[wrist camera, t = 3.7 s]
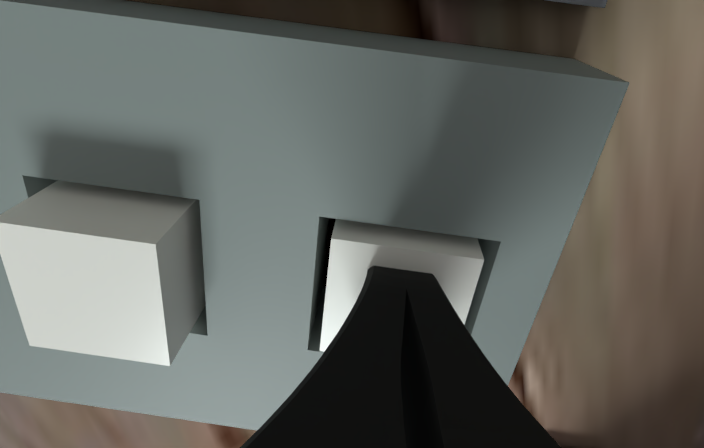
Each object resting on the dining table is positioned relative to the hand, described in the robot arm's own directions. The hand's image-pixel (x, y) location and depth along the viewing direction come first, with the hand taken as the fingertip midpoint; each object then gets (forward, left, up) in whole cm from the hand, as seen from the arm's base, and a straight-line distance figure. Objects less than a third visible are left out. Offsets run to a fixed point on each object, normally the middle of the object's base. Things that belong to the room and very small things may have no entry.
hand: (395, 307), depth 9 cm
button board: (+6, 0, -3) cm, 7 cm away
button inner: (0, 0, -3) cm, 3 cm away
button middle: (+6, 0, -1) cm, 6 cm away
